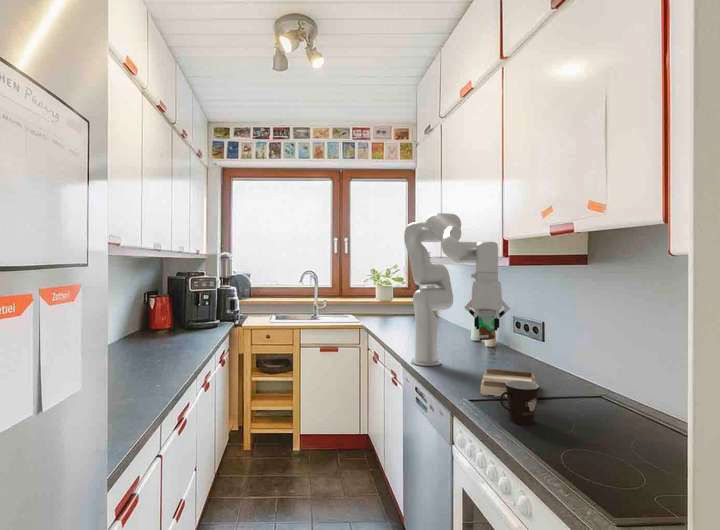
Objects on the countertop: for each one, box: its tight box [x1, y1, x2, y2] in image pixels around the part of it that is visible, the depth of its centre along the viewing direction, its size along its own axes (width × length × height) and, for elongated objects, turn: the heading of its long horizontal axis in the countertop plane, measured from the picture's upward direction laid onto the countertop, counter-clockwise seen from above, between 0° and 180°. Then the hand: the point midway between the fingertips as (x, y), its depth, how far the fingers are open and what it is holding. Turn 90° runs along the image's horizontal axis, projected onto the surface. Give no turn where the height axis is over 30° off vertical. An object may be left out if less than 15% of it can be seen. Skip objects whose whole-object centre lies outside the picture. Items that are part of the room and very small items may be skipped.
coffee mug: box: [499, 380, 540, 426], centre depth 124 cm, size 12×9×10 cm
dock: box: [480, 368, 537, 398], centre depth 153 cm, size 18×17×4 cm
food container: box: [478, 310, 496, 341], centre depth 157 cm, size 12×6×10 cm, turn 165°
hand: (486, 329), depth 157 cm, fingers closed on food container, 5 cm apart
